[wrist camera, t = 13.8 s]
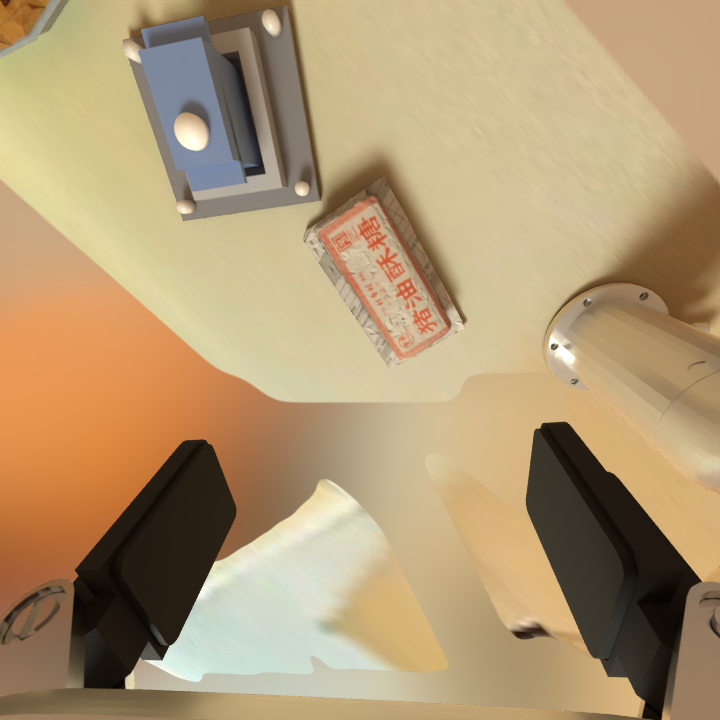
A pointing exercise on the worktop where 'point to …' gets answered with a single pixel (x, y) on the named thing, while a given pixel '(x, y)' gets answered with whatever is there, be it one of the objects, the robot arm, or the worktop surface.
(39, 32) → the pie
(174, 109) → the block
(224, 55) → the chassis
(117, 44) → the worktop surface
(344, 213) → the packaged product
